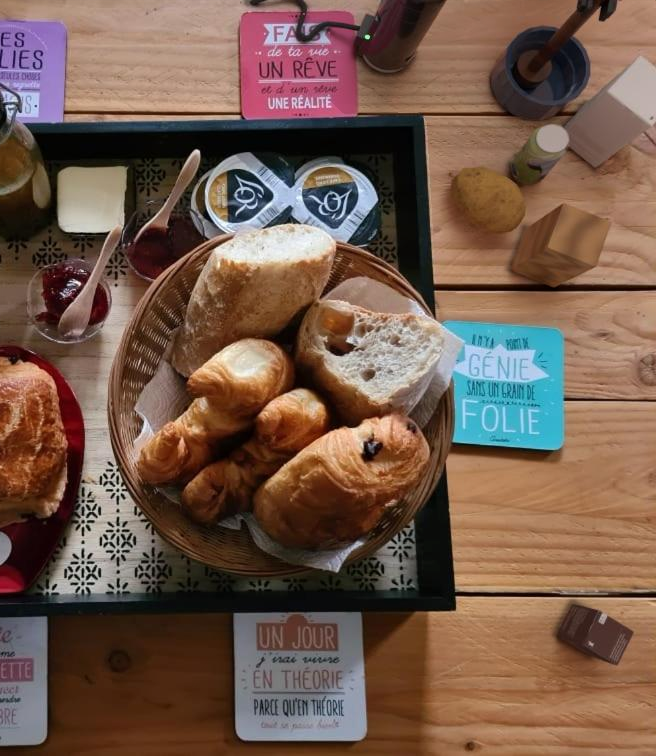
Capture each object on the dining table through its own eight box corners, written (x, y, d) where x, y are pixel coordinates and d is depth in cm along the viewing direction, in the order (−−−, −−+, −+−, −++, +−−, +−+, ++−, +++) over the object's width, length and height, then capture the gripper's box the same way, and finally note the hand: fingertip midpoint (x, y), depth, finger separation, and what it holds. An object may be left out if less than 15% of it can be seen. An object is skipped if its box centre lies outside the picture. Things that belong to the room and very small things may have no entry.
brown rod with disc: (520, 92, 128) (596, 12, 107) (506, 62, 129) (579, -23, 107) (551, 81, 129) (633, -1, 107) (537, 52, 129) (616, -36, 108)
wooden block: (509, 269, 126) (547, 247, 114) (524, 228, 127) (563, 202, 115) (553, 287, 126) (596, 267, 114) (568, 246, 127) (612, 221, 115)
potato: (498, 140, 120) (458, 171, 118) (551, 203, 119) (511, 235, 117) (467, 165, 129) (429, 195, 127) (516, 224, 128) (478, 254, 126)
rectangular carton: (625, 134, 130) (687, 89, 115) (594, 169, 129) (652, 128, 114) (585, 101, 130) (641, 52, 116) (554, 136, 130) (606, 90, 115)
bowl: (477, 104, 130) (493, 85, 124) (504, 34, 132) (521, 13, 126) (555, 134, 130) (575, 117, 124) (581, 64, 132) (601, 44, 126)
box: (588, 656, 117) (617, 667, 109) (554, 635, 117) (581, 645, 110) (605, 622, 117) (635, 631, 110) (572, 602, 118) (600, 609, 111)
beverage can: (543, 187, 128) (584, 157, 116) (501, 186, 128) (537, 156, 116) (541, 153, 129) (581, 120, 117) (500, 152, 129) (535, 119, 117)
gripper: (582, -116, 108) (562, -12, 105) (676, -95, 107) (658, 10, 105) (554, -78, 115) (535, 20, 113) (641, -57, 115) (624, 41, 112)
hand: (595, 15), depth 109 cm, fingers closed on brown rod with disc, 2 cm apart
